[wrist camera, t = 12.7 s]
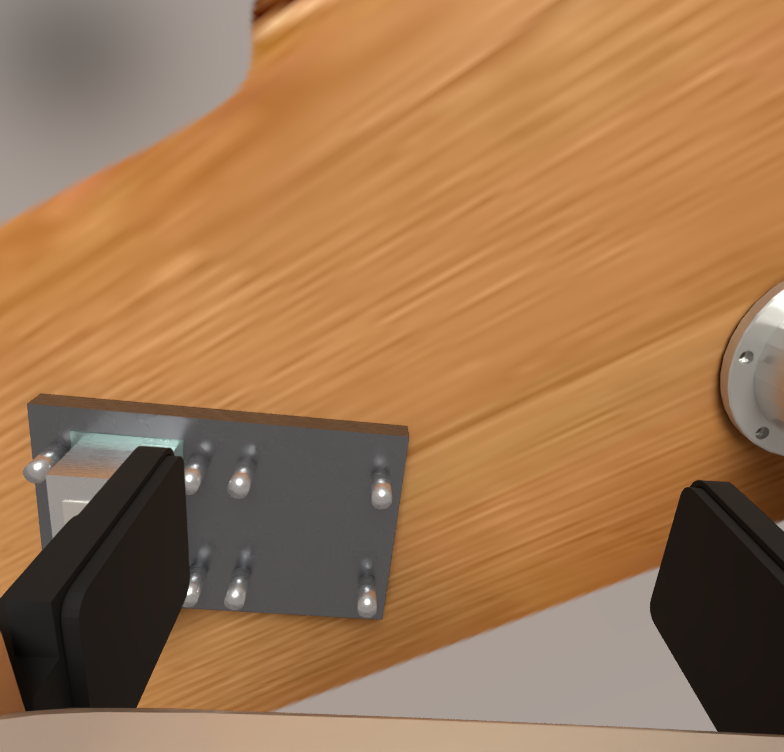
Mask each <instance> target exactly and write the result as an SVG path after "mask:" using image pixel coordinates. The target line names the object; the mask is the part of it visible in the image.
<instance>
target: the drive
mask: <svg viewBox="0 0 784 752" xmlns="http://www.w3.org/2000/svg"><path fill="white" fill-rule="evenodd" d="M138 446H149V447H165V448H171V449H172V450H173V452H174V456H177V447H175V446H160V445H146V444H132V443H117V442H103V441H88V440H79V441H78V442H77V443H76V444H75V446H74V447H73V448H72V449H71V450H70V451H69V452H68V453H67V454H66V455H65V456H64V457H63V458H62V459H61V460H60V461H59V462H58V463H57V464H56V465H55V466H54V467H53V468H52V469H51V470H50V471H49V472H48V473H47V474H46V484H47V493H48V502H49V511H50V520H51V528H52V537H53V538H54V537H55V535H56V534H57V533H58V532H59V531H60V530H61V529H62V528H63V526H64V525H65V524H66V523H67V522H68V521H69V520H70V519H71V518H72V517H74V516H76V515H78V514H79V513H80V512H81V511H82V510H83V508H84V507H85V506H86V505H87V504H88V503H89V501H90V500H91V499H92V498H93V497H94V496H95V495H96V493H97V492H98V491H99V490H100V489H101V488H102V486H103V485H104V484H105V483H106V482H107V481H108V480H109V478H110V477H111V476H112V475H113V474H114V473H115V471H116V470H117V469H118V468H119V467H120V466H121V465H122V463H123V462H124V461H125V460H126V459H127V458H128V457H129V455H130V454H131V453H132V452H133V451H134V450H135V448H137V447H138Z"/></svg>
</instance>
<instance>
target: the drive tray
mask: <svg viewBox="0 0 784 752" xmlns="http://www.w3.org/2000/svg"><path fill="white" fill-rule="evenodd" d="M27 408H28V418H29V428H30V437H31V447H32V457H33V460H32V461H31V462H30V463H29V464H28V465H27V466H26V467H25V468H24V470H23V475H24V477H25V478H26V479H27V480H28V481H29V482H31V483H35V486H36V496H37V506H38V515H39V525H40V535H41V545H42V550H43V549H44V548H45V547H46V546H47V545H48V543H49V542H50V541H51V540H52V539H53V537H52V528H51V520H50V511H49V502H48V493H47V484H46V474H47V473H48V472H49V471H50V470H51V469H52V468H53V467H54V466H55V465H56V464H57V463H58V462H59V461H60V460H61V459H62V458H63V457H64V456H65V455H66V454H67V453H68V452H69V451H70V450H71V449H72V448H73V447H74V446H75V444H76V443H77V442H78V441H79V440H88V441H103V442H117V443H132V444H146V445H160V446H175V447H177V456H181V457H182V458H183V460H184V471H185V491H186V510H187V529H188V548H189V567H190V583H189V590H188V594H187V597H186V599H185V601H184V604H183V606H182V608H191V609H208V610H225V611H243V612H260V613H277V614H295V615H312V616H329V617H347V618H364V619H381V620H382V619H383V612H384V605H385V598H386V591H387V584H388V578H389V571H390V564H391V557H392V550H393V543H394V537H395V530H396V523H397V516H398V509H399V503H400V496H401V489H402V482H403V475H404V468H405V462H406V455H407V448H408V441H409V433H408V428H407V426H400V425H389V424H378V423H367V422H355V421H344V420H333V419H321V418H310V417H299V416H288V415H276V414H265V413H254V412H242V411H231V410H220V409H209V408H197V407H186V406H175V405H163V404H152V403H141V402H130V401H118V400H107V399H96V398H84V397H73V396H62V395H51V394H39V395H38V396H37V397H35V398H34V399H33V400H31V401H30V402H29V403H27Z"/></svg>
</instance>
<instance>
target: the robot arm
mask: <svg viewBox="0 0 784 752" xmlns="http://www.w3.org/2000/svg"><path fill="white" fill-rule="evenodd" d="M720 389H721V396H722V400H723V405H724V409H725V411H726V412H727V414H728V416H729V418H730V420H731V422H732V423H733V425H734V426H735V427H736V428H737V429H738V430H739V432H740V433H741V434H742V435H744V436H745V437H746V438H748V439H749V440H750V441H752V442H753V443H754V444H756V445H757V446H759V447H761V448H763V449H765V450H767V451H768V452H771V453H775V454H778V455H781V456H784V281H782V282H780V283H779V284H777V285H776V286H774V287H773V288H772V289H770V290H769V291H768V292H767V293H766V294H765V295H764V296H763V297H762V298H760V299H759V300H758V301H757V302H756V303H755V304H754V305H753V307H752V308H751V309H750V310H749V311H748V313H747V314H746V315H745V316H744V317H743V319H742V320H741V322H740V323H739V325H738V327H737V328H736V330H735V332H734V334H733V335H732V337H731V339H730V342H729V344H728V347H727V349H726V352H725V355H724V358H723V363H722V369H721V374H720ZM189 583H190V567H189V548H188V529H187V510H186V491H185V471H184V460H183V458H182V457H181V456H174V452H173V450H172V449H171V448H165V447H149V446H138V447H137V448H135V450H134V451H133V452H132V453H131V454H130V455H129V457H128V458H127V459H126V460H125V461H124V462H123V463H122V465H121V466H120V467H119V468H118V469H117V470H116V471H115V473H114V474H113V475H112V476H111V477H110V478H109V480H108V481H107V482H106V483H105V484H104V485H103V486H102V488H101V489H100V490H99V491H98V492H97V493H96V495H95V496H94V497H93V498H92V499H91V500H90V501H89V503H88V504H87V505H86V506H85V507H84V508H83V510H82V511H81V512H80V513H79V514H78V515H76V516H74V517H72V518H71V519H70V520H69V521H68V522H67V523H66V524H65V525H64V526H63V528H62V529H61V530H60V531H59V532H58V533H57V534H56V535H55V537H54V538H53V539H52V540H51V541H50V542H49V543H48V545H47V546H46V547H45V548H44V549H43V550H42V551H41V553H40V554H39V555H38V556H37V557H36V558H35V559H34V560H33V562H32V563H31V564H30V565H29V566H28V567H27V568H26V570H25V571H24V572H23V573H22V574H21V575H20V576H19V578H18V579H17V580H16V581H15V582H14V583H13V584H12V586H11V587H10V588H9V589H8V590H7V591H6V592H5V593H4V595H3V596H2V597H1V598H0V752H784V531H782V530H781V529H780V528H779V527H778V526H777V525H776V524H775V523H774V522H773V521H772V520H771V519H770V518H769V517H767V516H766V515H765V514H764V513H763V512H762V511H761V510H760V509H759V508H758V507H757V506H756V505H754V504H753V503H752V502H751V501H750V500H749V499H748V498H747V497H746V496H745V495H744V494H743V493H741V492H740V491H739V490H738V489H737V488H736V487H735V486H734V485H733V484H731V483H729V482H719V481H702V480H697V481H695V482H693V483H692V485H691V486H690V487H687V488H684V490H683V491H682V493H681V495H680V499H679V503H678V506H677V510H676V513H675V517H674V520H673V524H672V527H671V531H670V534H669V538H668V541H667V545H666V548H665V552H664V555H663V559H662V562H661V566H660V569H659V573H658V577H657V580H656V583H655V587H654V591H653V594H652V598H651V602H650V612H651V617H652V620H653V622H654V624H655V626H656V627H657V629H658V631H659V632H660V634H661V636H662V638H663V639H664V641H665V643H666V644H667V646H668V648H669V650H670V651H671V653H672V655H673V656H674V658H675V660H676V661H677V663H678V665H679V667H680V668H681V670H682V672H683V673H684V675H685V677H686V678H687V680H688V682H689V683H690V685H691V687H692V689H693V690H694V692H695V694H696V695H697V697H698V699H699V701H700V702H701V704H702V706H703V707H704V709H705V711H706V713H707V714H708V716H709V718H710V719H711V721H712V723H713V724H714V726H715V728H716V730H717V731H718V732H713V731H692V730H673V729H652V728H632V727H610V726H589V725H568V724H546V723H522V722H501V721H478V720H455V719H453V720H452V719H432V718H407V717H382V716H381V717H380V716H356V715H329V714H328V715H327V714H303V713H277V712H251V711H225V710H199V709H174V708H136V707H137V705H138V703H139V701H140V699H141V696H142V694H143V692H144V690H145V688H146V685H147V683H148V681H149V679H150V676H151V674H152V672H153V670H154V668H155V665H156V663H157V661H158V659H159V657H160V654H161V652H162V650H163V648H164V646H165V643H166V641H167V639H168V637H169V635H170V632H171V630H172V628H173V626H174V624H175V621H176V619H177V617H178V615H179V613H180V610H181V608H182V606H183V604H184V601H185V599H186V597H187V594H188V590H189Z"/></svg>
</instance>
